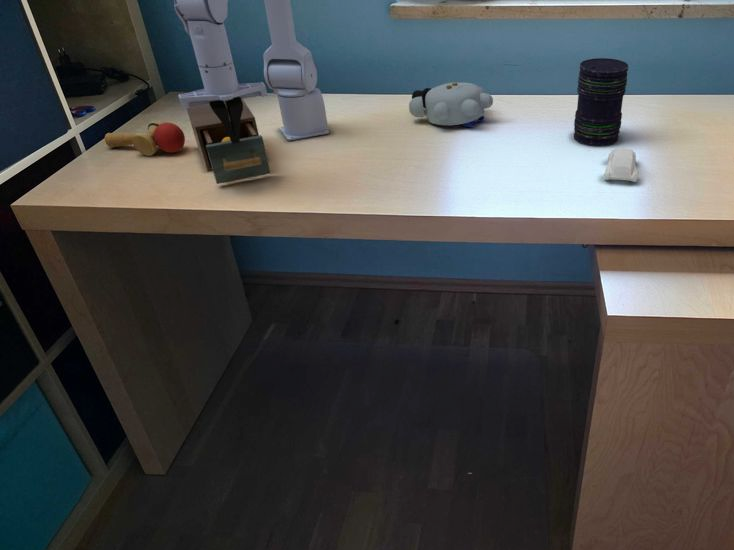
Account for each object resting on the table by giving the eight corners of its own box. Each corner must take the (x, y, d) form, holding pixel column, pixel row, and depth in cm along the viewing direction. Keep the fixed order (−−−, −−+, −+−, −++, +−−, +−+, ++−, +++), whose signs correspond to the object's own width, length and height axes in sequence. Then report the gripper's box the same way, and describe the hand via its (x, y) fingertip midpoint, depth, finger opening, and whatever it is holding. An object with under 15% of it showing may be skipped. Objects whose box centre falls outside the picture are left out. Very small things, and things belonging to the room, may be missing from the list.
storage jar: (597, 126, 143) (605, 55, 134) (628, 139, 137) (639, 66, 127) (563, 136, 139) (569, 63, 129) (594, 150, 132) (602, 75, 123)
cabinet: (264, 160, 131) (254, 117, 126) (207, 171, 128) (194, 127, 122) (251, 138, 141) (241, 97, 135) (198, 148, 137) (185, 106, 131)
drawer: (276, 182, 121) (267, 145, 116) (221, 193, 118) (210, 156, 113) (257, 151, 133) (249, 116, 128) (207, 160, 130) (197, 125, 125)
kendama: (102, 161, 136) (174, 155, 131) (91, 130, 133) (164, 123, 128) (127, 153, 142) (196, 147, 138) (116, 124, 139) (187, 116, 135)
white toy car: (637, 186, 119) (641, 162, 116) (603, 184, 120) (606, 160, 117) (637, 160, 128) (640, 138, 125) (605, 158, 129) (608, 136, 126)
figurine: (507, 113, 149) (440, 107, 159) (504, 75, 144) (436, 71, 154) (463, 137, 138) (395, 128, 149) (459, 96, 133) (388, 90, 144)
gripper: (173, 75, 103) (197, 156, 111) (263, 62, 108) (279, 141, 116) (168, 64, 108) (192, 143, 116) (255, 53, 113) (271, 129, 121)
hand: (235, 141), depth 117 cm, fingers closed
